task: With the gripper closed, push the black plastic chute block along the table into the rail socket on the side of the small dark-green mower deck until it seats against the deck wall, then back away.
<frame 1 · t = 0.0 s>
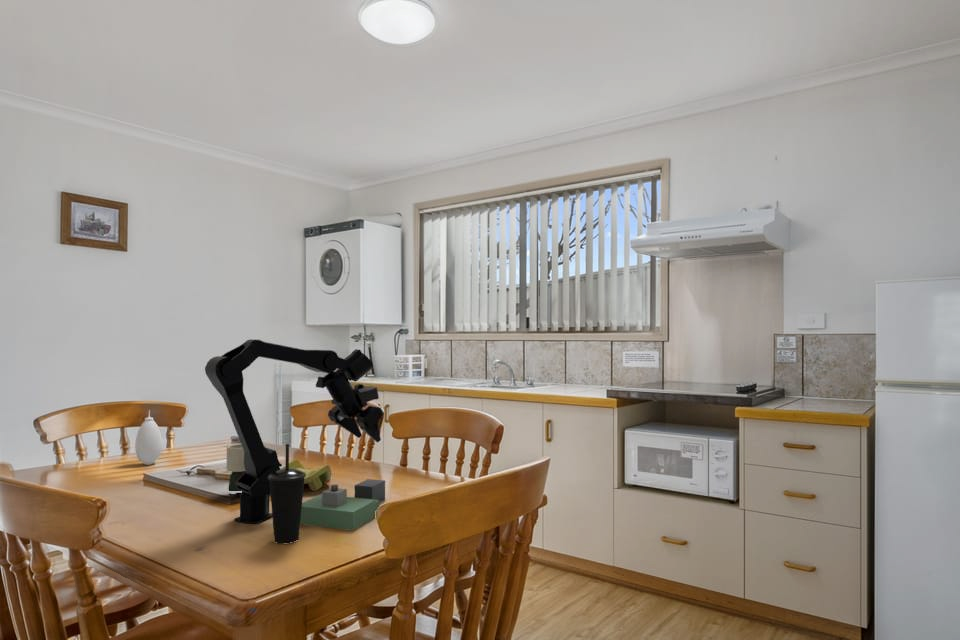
hand: (369, 438, 164), 15 cm above the table, tool tilted 35°, fingers open, 9 cm apart
white bulb air blower: (148, 465, 201), on the table
chute: (370, 502, 157), on the table
drinking cup: (286, 541, 128), on the table
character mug: (240, 495, 164), on the table
mower deck: (344, 515, 145), on the table
plastic component: (303, 487, 173), on the table
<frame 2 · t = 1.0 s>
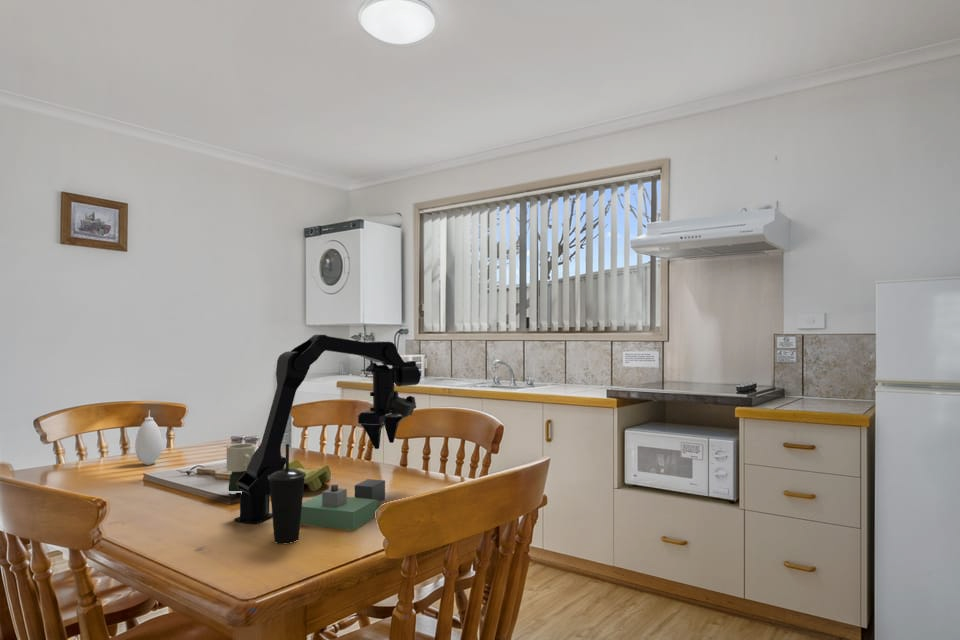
hand: (384, 445, 165), 13 cm above the table, tool pointing down, fingers open, 8 cm apart
nothing on the table moved.
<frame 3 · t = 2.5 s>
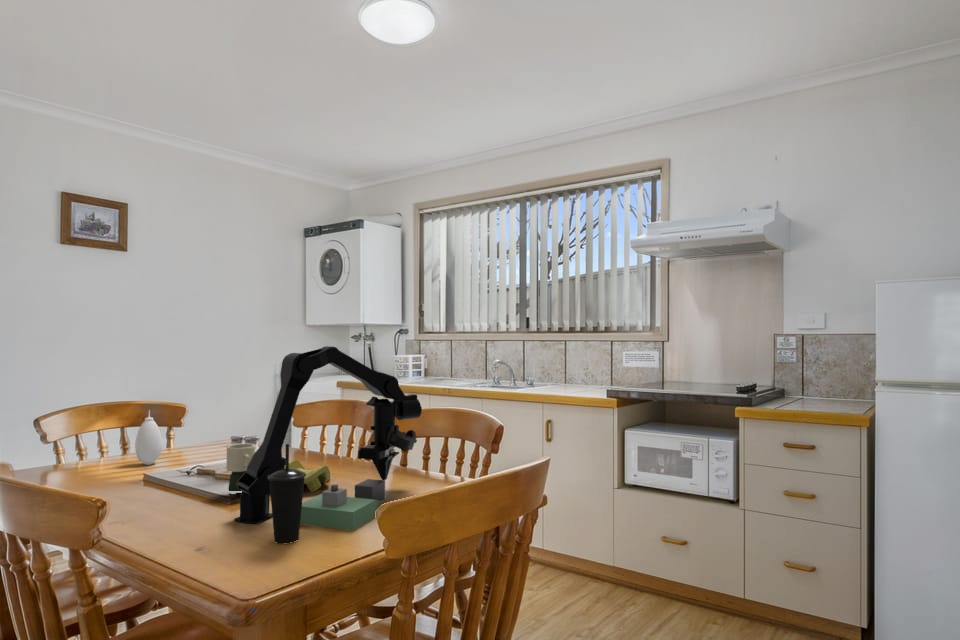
hand: (384, 479, 165), 4 cm above the table, tool pointing down, fingers closed
nothing on the table moved.
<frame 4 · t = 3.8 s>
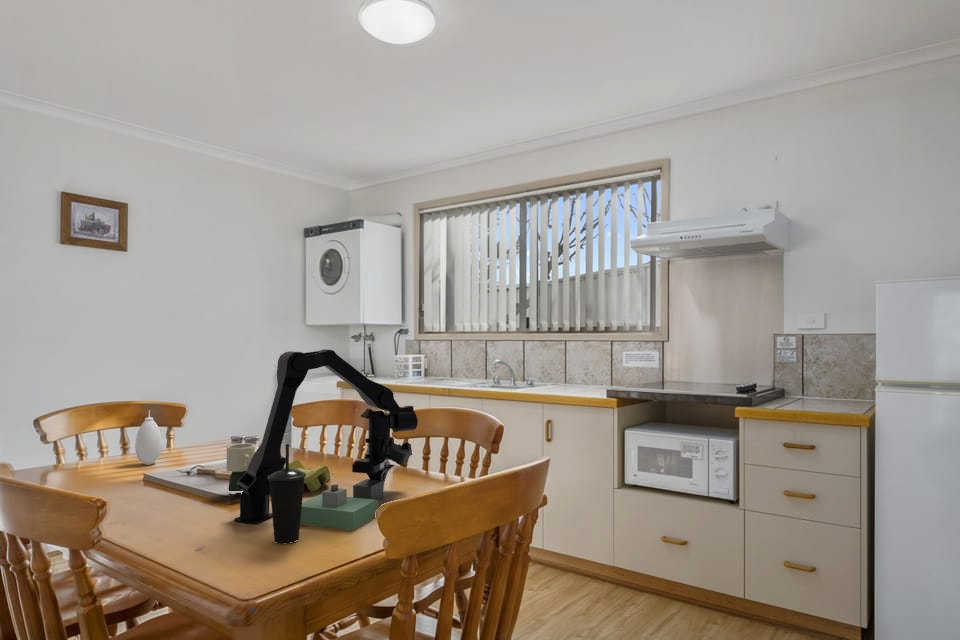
hand: (379, 493, 162), 1 cm above the table, tool pointing down, fingers closed
chute: (368, 502, 156), on the table, touching gripper
everything else where it was.
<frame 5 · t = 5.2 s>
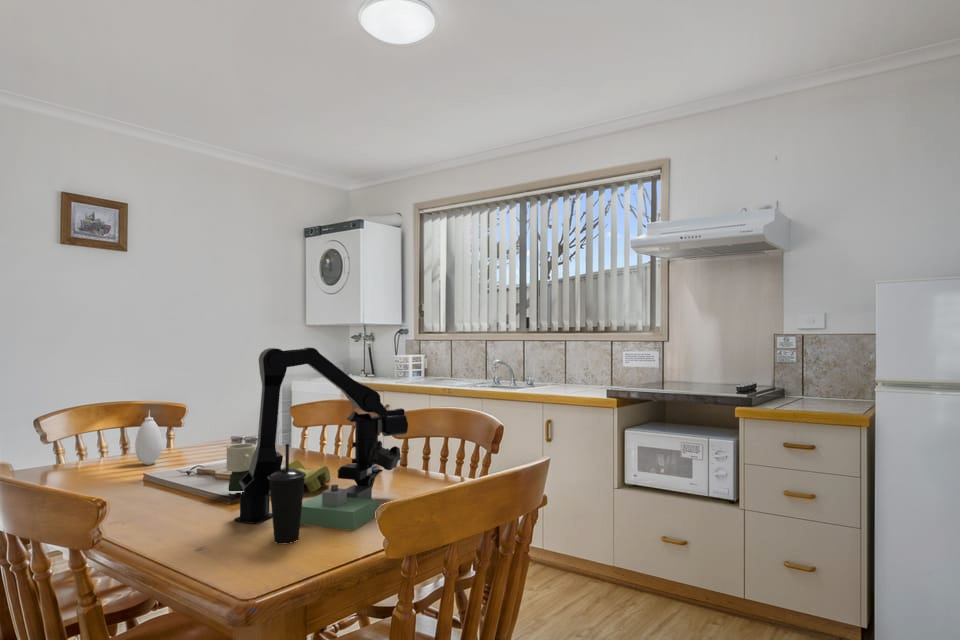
hand: (366, 499, 155), 1 cm above the table, tool pointing down, fingers closed
chute: (355, 509, 150), on the table, touching gripper, mower deck
everything else where it was.
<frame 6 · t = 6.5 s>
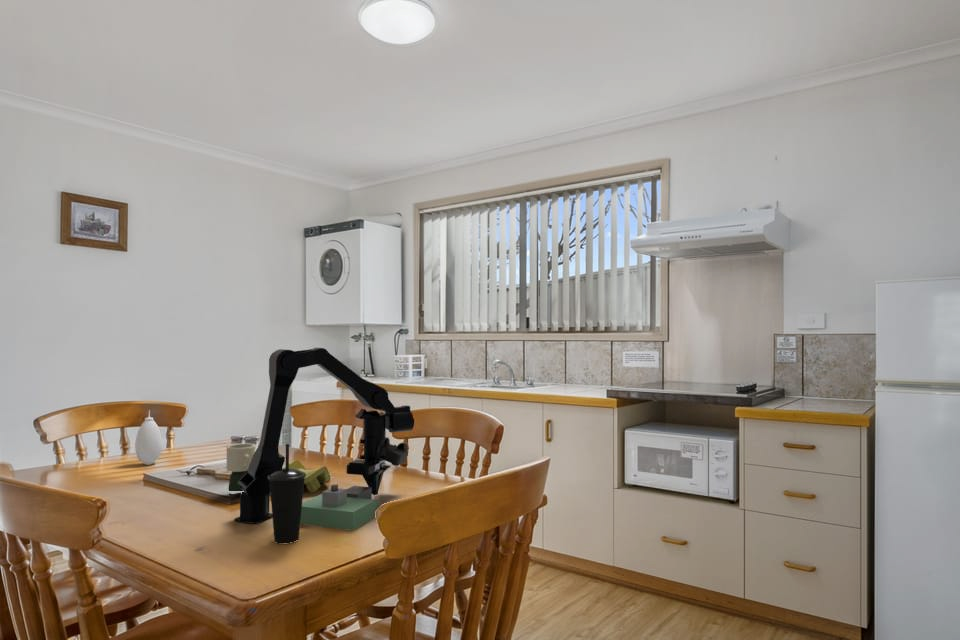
hand: (374, 494, 159), 1 cm above the table, tool pointing down, fingers closed
chute: (355, 510, 150), on the table
everything else where it was.
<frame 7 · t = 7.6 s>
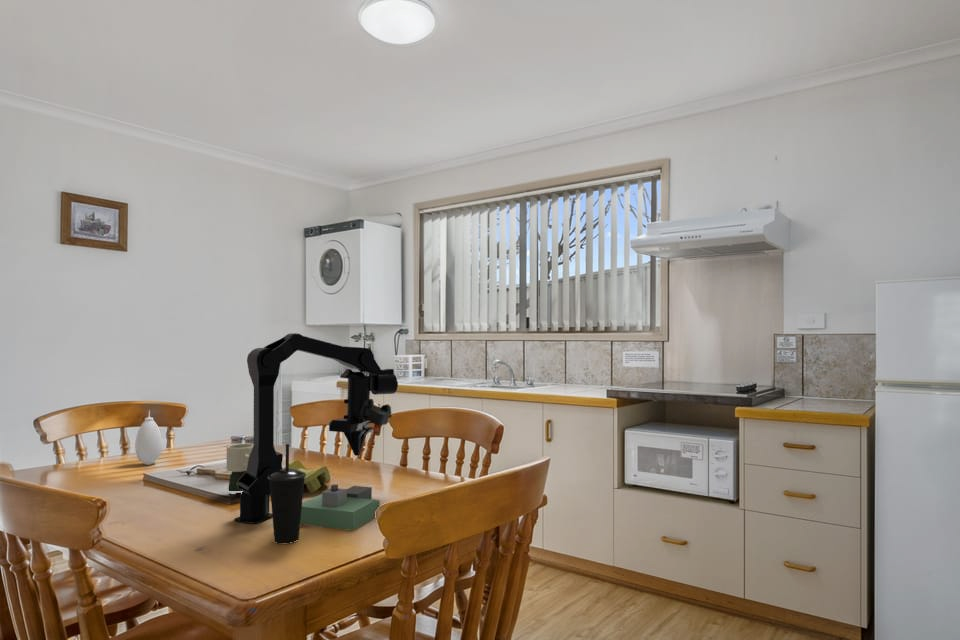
hand: (357, 455, 159), 11 cm above the table, tool pointing down, fingers closed
nothing on the table moved.
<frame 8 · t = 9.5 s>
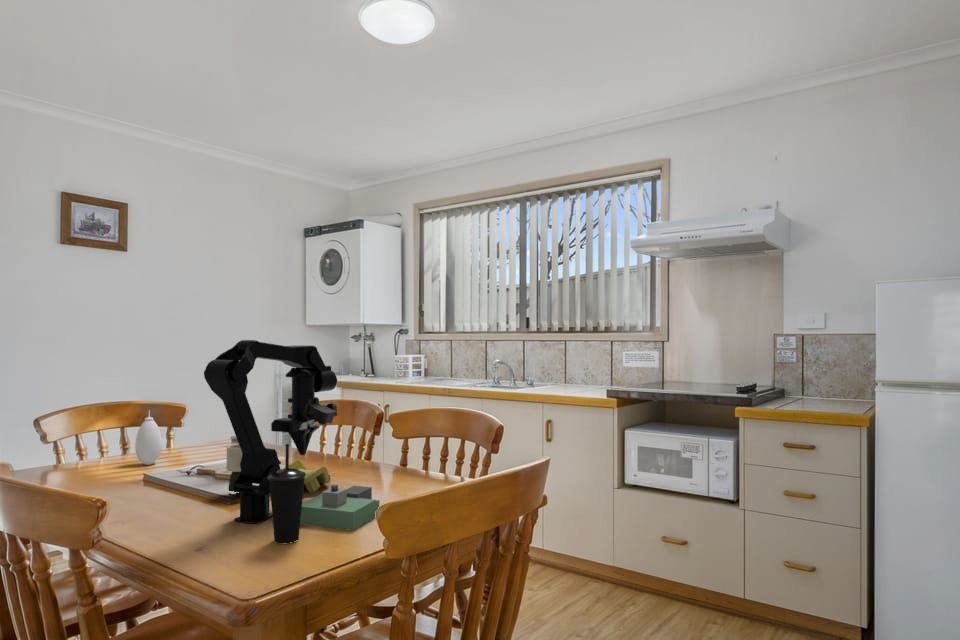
hand: (302, 454, 157), 12 cm above the table, tool pointing down, fingers closed
at the end: chute 1.0 cm from the target spot on the mower deck, point 0.0 cm above the mower deck's base; chute tilted 0° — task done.
